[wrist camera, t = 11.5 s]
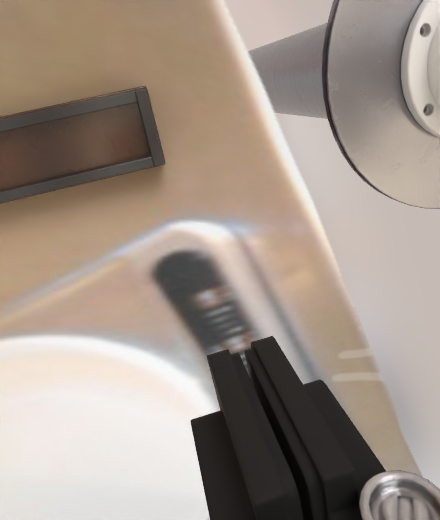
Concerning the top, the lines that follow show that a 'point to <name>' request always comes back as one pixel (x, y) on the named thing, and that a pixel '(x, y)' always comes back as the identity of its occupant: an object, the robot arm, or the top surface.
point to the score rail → (77, 143)
